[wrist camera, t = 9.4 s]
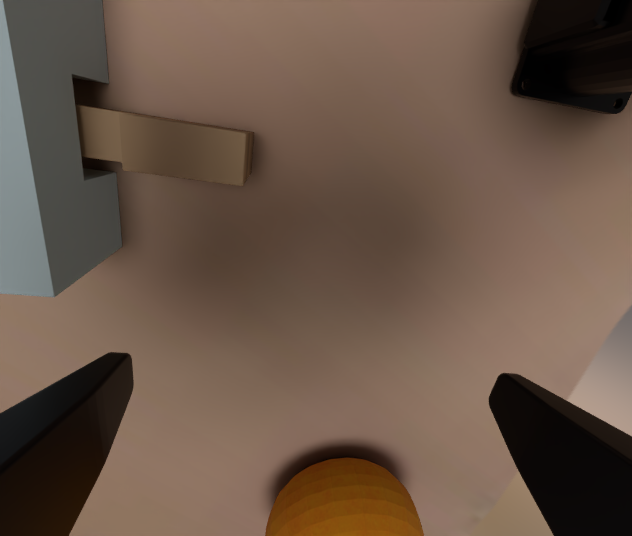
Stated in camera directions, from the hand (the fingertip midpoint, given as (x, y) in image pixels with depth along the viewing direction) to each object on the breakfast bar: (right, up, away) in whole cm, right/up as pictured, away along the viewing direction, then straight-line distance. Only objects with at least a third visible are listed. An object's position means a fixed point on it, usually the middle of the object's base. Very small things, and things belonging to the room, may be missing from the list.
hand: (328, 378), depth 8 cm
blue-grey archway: (-11, +9, +8) cm, 17 cm away
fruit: (+1, -16, +20) cm, 26 cm away
